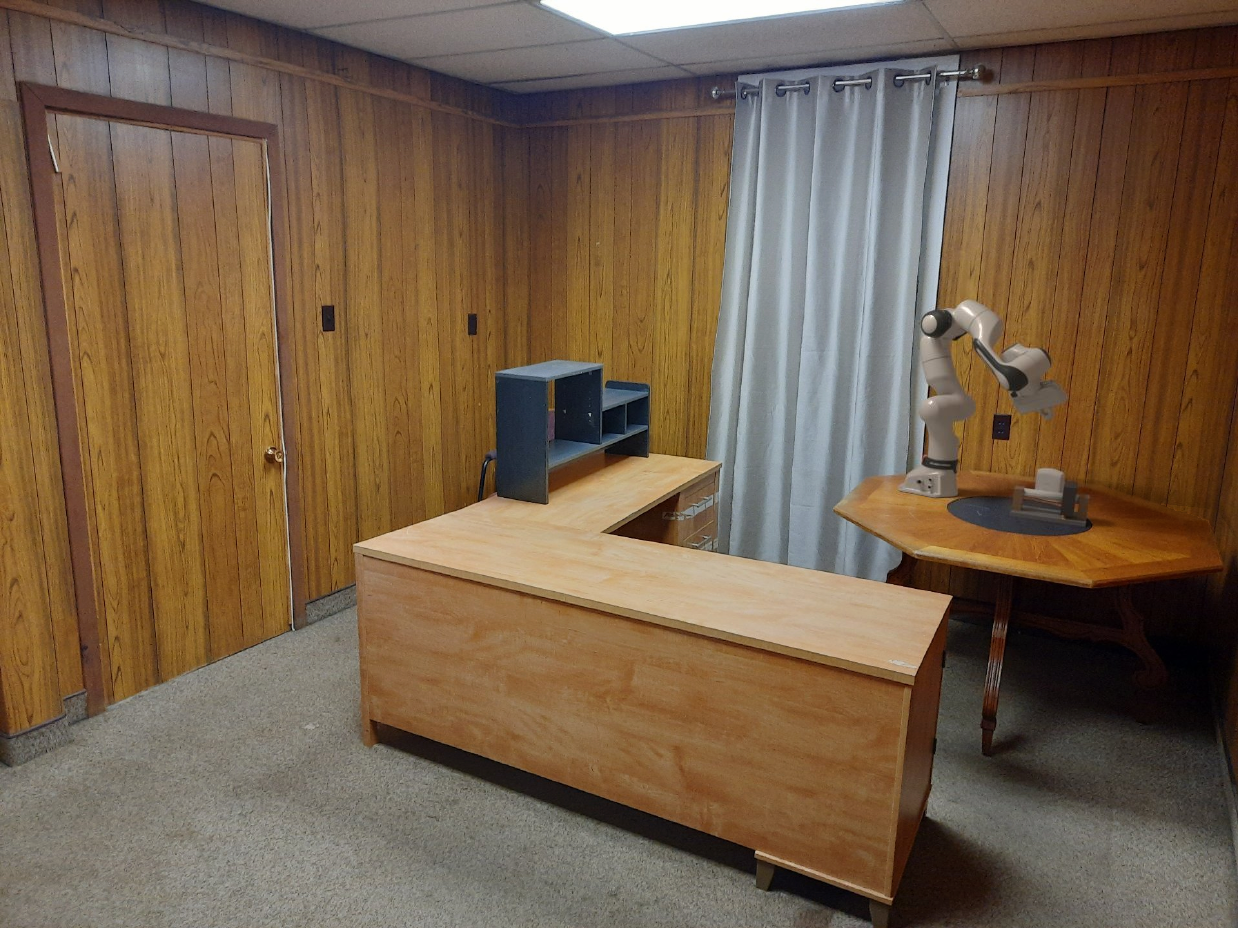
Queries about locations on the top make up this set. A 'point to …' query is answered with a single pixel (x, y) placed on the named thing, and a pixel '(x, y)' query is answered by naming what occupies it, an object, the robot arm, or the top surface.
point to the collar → (1069, 498)
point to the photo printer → (1050, 481)
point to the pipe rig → (1048, 514)
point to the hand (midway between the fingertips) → (1050, 418)
